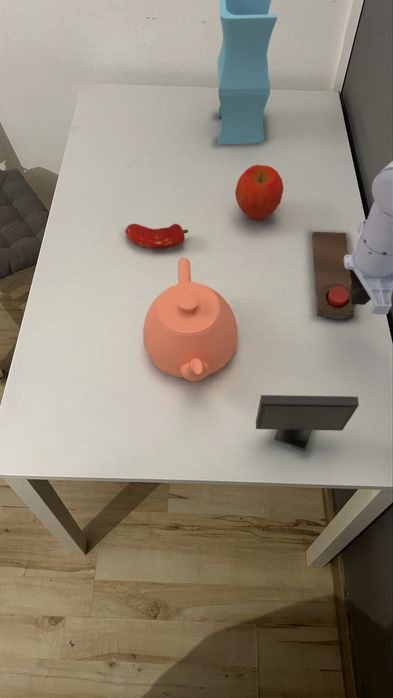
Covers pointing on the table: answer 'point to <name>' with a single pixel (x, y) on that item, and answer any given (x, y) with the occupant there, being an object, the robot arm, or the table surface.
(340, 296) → the power button
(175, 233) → the vegetable
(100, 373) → the table surface
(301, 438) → the monitor stand
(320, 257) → the brown board with ring
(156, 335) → the teapot
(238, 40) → the vase
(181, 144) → the table surface
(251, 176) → the apple
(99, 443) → the table surface
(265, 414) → the panel
